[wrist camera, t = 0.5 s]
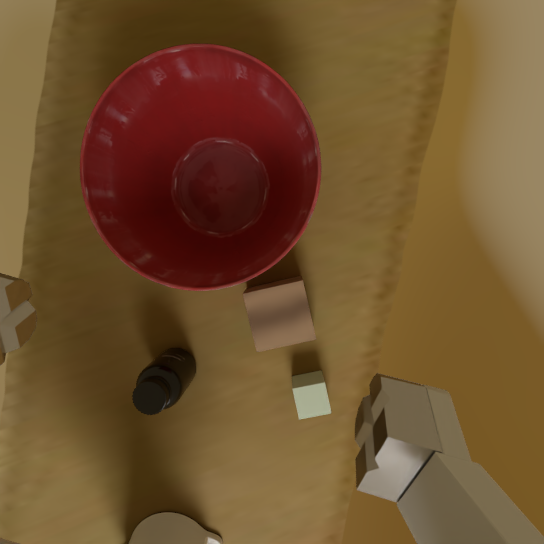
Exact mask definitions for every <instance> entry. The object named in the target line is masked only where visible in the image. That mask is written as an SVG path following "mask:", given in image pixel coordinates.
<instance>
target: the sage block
mask: <svg viewBox="0 0 544 544" xmlns="http://www.w3.org/2000/svg"><path fill="white" fill-rule="evenodd" d="M292 388H293V393H294V398H295V402H296V407H297V411H298V416H299V419H304V418H310V417H315V416H320V415H325V414H331V409H330V404H329V400H328V395H327V390H326V385H325V381H324V377H323V374H322V370H321V371H316V372H311V373H306V374H301V375H296V376H292Z"/></svg>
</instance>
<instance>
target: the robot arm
mask: <svg viewBox="0 0 544 544" xmlns="http://www.w3.org/2000/svg"><path fill="white" fill-rule="evenodd" d="M31 296H32V291H31V288H30V284H29V283H28V282H26V281H24V280H22V279H19V278H15V277H12V276H8V275H5V274H1V273H0V365H1V364H3V363H4V361H5V355H6V353H8V352H10V351H13V350H16V349H18V348H20V347H21V346H23V345H24V344H25V343H26V342H27V341H28V340H29V339H30V337H31V335H32V334H33V332H34V330H35V328H36V322H37V315H36V310H35V309H34V308H33V306H32V305H31V304H30V303H29V302H28V300H29V299H30V298H31ZM369 386H370V395H368V396H366V397H364V398H363V399H362V401H361V404H360V406H359V408H358V412H357V417H356V422H355V441H356V442H357V444H358V445H359V447H360V448H361V450H360V451H359V453H358V455H357V457H356V484H357V485H356V487H357V490H359V491H362V492H365V493H368V494H371V495H375V496H378V497H381V498H384V499H388V500H391V501H394V502H397V506H398V508H399V510H400V512H401V514H402V516H403V518H404V519H405V521H406V523H407V525H408V527H409V529H410V531H411V533H412V535H413V536H414V539H415V540H416V542H417V544H544V537H543V535H542V534H541V533H540V532H539V531H538V530H537V529H536V528H535V526H534V525H533V524H532V523H531V522H530V521H529V520H528V519H527V517H526V516H525V515H524V514H523V513H522V512H521V511H520V510H519V508H518V507H517V506H516V505H515V504H514V503H513V501H512V500H511V499H510V498H509V497H508V496H507V495H506V493H505V492H504V491H503V490H502V489H501V488H500V487H499V486H498V485H497V483H496V482H495V481H494V480H493V479H492V478H491V476H490V475H489V474H488V473H487V472H486V471H485V470H484V469H483V468H482V466H481V465H480V464H478V463H475V462H472V461H471V458H470V455H469V452H468V449H467V445H466V442H465V439H464V436H463V433H462V430H461V427H460V424H459V421H458V418H457V415H456V412H455V408H454V405H453V403H452V399H451V396H450V394H449V393H448V392H447V391H446V390H443V389H439V388H435V387H431V386H427V385H421V384H418V383H414V382H410V381H406V380H402V379H398V378H394V377H390V376H386V375H382V374H379V373H377V374H376V375H375V376H374V377H373V379H372V381H371V383H370V385H369ZM0 544H19V543H16V542H12V541H9V540H6V539H2V538H0ZM128 544H223V542H222V539H221V537H219V536H218V535H216V534H214V533H211V532H208V531H206V530H205V529H203V528H202V527H201V526H200V525H199V524H198V523H196V522H195V521H194V520H192V519H191V518H189V517H187V516H184V515H182V514H178V513H171V512H164V513H158V514H154V515H152V516H149V517H148V518H146V519H144V520H143V521H142V522H141V523H140V524H139V525H138V526H137V527H136V528H135V530H134V532H133V534H132V536H131V539H130V542H129V543H128Z"/></svg>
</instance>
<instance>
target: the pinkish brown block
mask: <svg viewBox="0 0 544 544" xmlns="http://www.w3.org/2000/svg"><path fill="white" fill-rule="evenodd" d="M243 297H244V301H245V305H246V309H247V313H248V318H249V322H250V326H251V330H252V334H253V338H254V342H255V346H256V351H257V352H260V351H265V350H270V349H274V348H279V347H284V346H288V345H293V344H298V343H302V342H307V341H312V340H316V336H315V332H314V327H313V323H312V318H311V314H310V310H309V305H308V301H307V296H306V292H305V287H304V283H303V279H302V277H301V276H298V277H294V278H289V279H285V280H280V281H276V282H272V283H267V284H263V285H258V286H254V287H249V288H247V289H246V290H245V291H244V293H243Z"/></svg>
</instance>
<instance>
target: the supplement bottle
mask: <svg viewBox="0 0 544 544" xmlns="http://www.w3.org/2000/svg"><path fill="white" fill-rule="evenodd" d="M195 373H196V364H195V361H194V359H193V357H192V356H191V355H190V354H189V353H188V352H187V351H185V350H183V349H180V348H171V349H168V350H166V351H164V352H163V353H161V354H160V355H159V356H158V357H157V358H156V359H155V360H153V361H152V362H151V363H150V364H149V365H148V366H147V367H146V368H145V369H144V370H143V371H142V372H141V373H140V375H139V376H138V379H137V383H136V388H135V389H134V392H133V395H132V396H133V403H134V405H135V406H136V408H137V409H138V410H139V411H141V413H144V414H147V415H149V414H150V415H152V414H154V415H155V414H157V413H159V412H161V411H162V410H163V409H167V408H170V407H172V406H173V405H174V404H176V403H177V401H178V400H179V399H180V398H181V396H182V395H183V393H184V392H185V390H186V389H187V387H188V386H189V384H190V383H191V381H192V380H193V378H194V376H195Z"/></svg>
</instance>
